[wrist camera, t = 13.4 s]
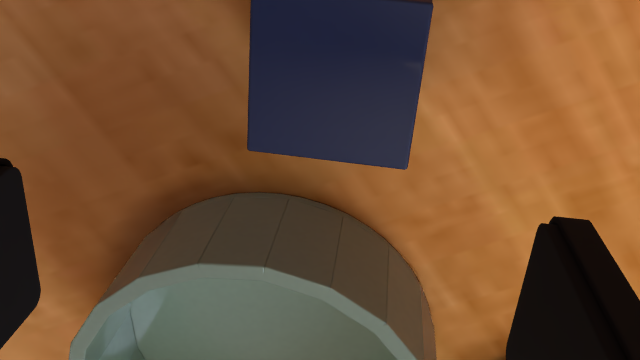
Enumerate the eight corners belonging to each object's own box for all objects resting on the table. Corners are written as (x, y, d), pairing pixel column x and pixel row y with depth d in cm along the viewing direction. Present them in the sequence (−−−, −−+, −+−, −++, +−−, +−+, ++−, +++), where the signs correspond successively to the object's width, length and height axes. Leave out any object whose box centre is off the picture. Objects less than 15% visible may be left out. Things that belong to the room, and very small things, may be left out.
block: (287, 80, 25) (246, 151, 19) (294, -45, 23) (250, -16, 16) (405, 94, 25) (407, 170, 18) (424, -32, 23) (434, 3, 16)
